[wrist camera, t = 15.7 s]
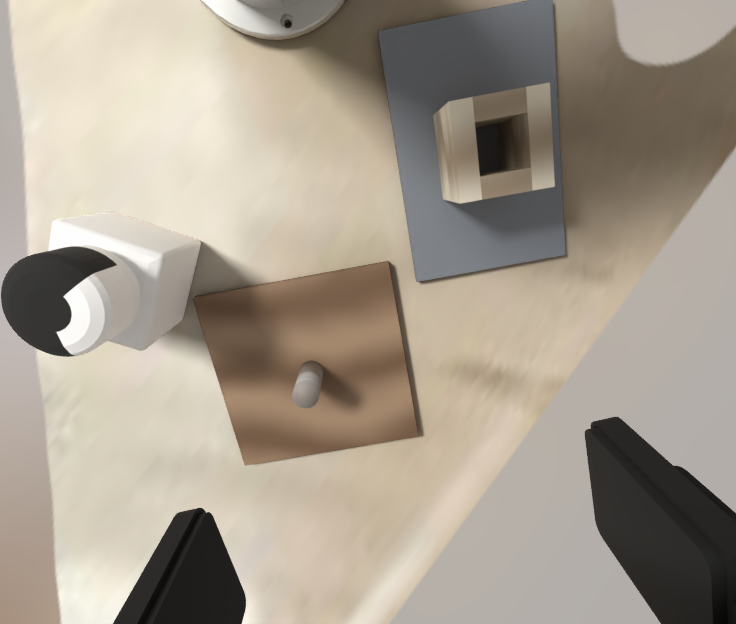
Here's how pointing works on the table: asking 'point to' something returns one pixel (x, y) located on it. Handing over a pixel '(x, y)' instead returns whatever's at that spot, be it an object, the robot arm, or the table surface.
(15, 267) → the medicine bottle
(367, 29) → the table surface
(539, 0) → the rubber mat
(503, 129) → the ring block
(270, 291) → the peg stand
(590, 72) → the table surface
